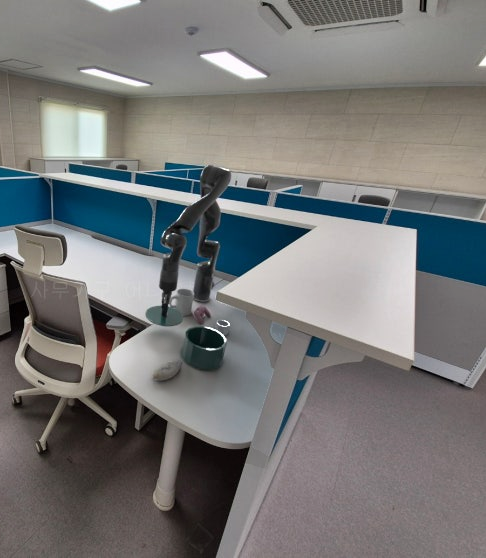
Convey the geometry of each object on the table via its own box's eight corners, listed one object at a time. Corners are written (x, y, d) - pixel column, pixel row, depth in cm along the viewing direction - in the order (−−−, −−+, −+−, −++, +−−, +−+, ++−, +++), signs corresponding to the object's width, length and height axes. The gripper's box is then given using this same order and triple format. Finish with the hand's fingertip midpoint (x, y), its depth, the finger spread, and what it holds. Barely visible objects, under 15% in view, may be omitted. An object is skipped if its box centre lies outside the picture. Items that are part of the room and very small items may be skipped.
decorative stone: (186, 368, 115) (187, 361, 114) (160, 387, 105) (161, 380, 104) (173, 360, 119) (174, 353, 118) (147, 378, 109) (148, 370, 108)
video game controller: (203, 316, 153) (199, 303, 152) (211, 316, 149) (208, 303, 149) (194, 324, 146) (190, 311, 145) (203, 324, 142) (199, 310, 142)
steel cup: (214, 327, 141) (216, 318, 139) (227, 330, 140) (229, 320, 138) (214, 334, 136) (216, 325, 134) (227, 336, 135) (229, 327, 133)
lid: (148, 305, 144) (149, 293, 142) (184, 311, 140) (186, 299, 138) (141, 323, 130) (143, 311, 127) (181, 330, 126) (183, 318, 123)
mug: (186, 306, 158) (189, 288, 154) (193, 315, 151) (197, 295, 146) (165, 308, 156) (167, 289, 151) (171, 317, 148) (174, 297, 144)
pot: (183, 341, 130) (186, 323, 126) (221, 349, 126) (225, 330, 122) (180, 365, 116) (183, 345, 113) (222, 374, 113) (227, 353, 109)
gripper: (176, 286, 120) (171, 323, 127) (179, 273, 132) (174, 307, 140) (157, 283, 122) (153, 319, 129) (162, 270, 134) (158, 304, 141)
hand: (164, 313), depth 134 cm, fingers closed on lid, 2 cm apart
